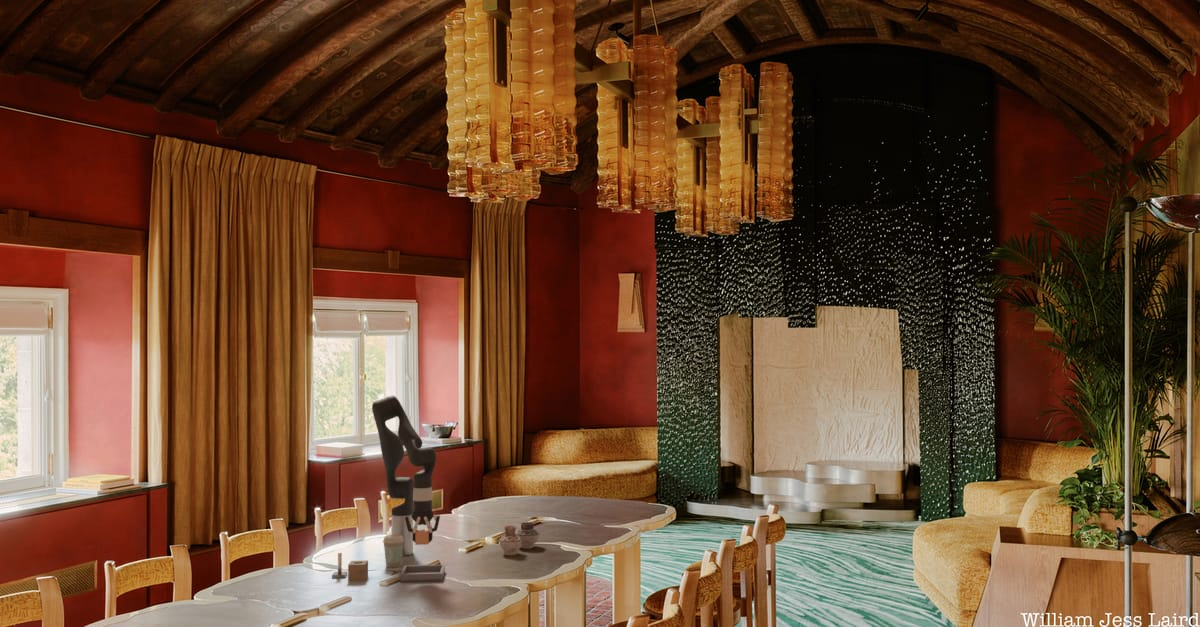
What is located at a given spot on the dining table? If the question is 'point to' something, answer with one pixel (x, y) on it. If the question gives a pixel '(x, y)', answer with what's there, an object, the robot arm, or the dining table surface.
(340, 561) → the pin gauge stand
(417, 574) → the tray
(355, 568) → the block
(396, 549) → the coffee cup
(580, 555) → the dining table surface
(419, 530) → the block
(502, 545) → the pottery
